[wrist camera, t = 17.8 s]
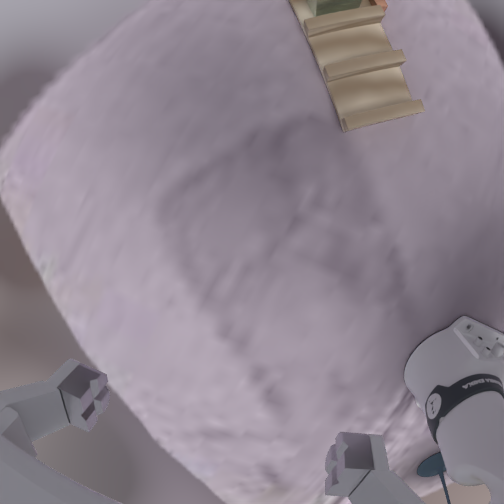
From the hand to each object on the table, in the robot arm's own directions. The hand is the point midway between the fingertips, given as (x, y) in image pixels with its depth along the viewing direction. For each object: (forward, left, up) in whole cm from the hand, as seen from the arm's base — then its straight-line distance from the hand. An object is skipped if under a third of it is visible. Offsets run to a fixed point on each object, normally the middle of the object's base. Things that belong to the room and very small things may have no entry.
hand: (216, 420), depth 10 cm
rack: (-5, -24, -34) cm, 42 cm away
